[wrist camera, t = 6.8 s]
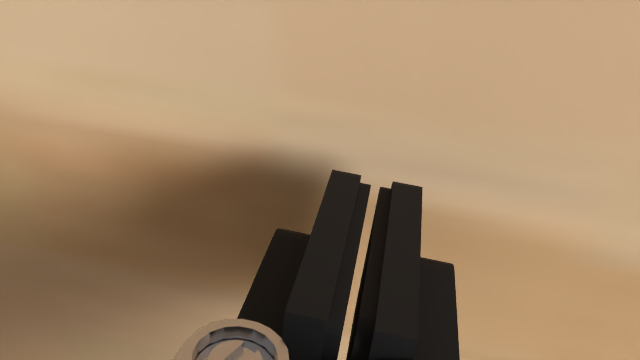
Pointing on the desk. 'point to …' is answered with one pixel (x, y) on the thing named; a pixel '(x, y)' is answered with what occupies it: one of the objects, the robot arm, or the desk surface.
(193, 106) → the desk surface
